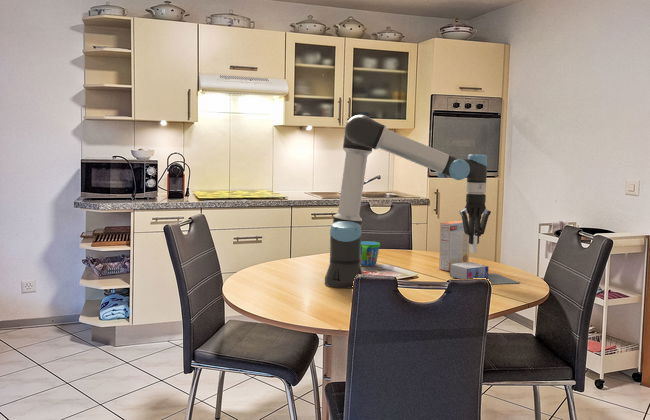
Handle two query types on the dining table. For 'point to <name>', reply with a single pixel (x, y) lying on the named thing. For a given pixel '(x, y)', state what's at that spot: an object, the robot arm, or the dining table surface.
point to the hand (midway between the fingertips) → (473, 251)
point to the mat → (500, 279)
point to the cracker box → (453, 244)
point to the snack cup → (369, 253)
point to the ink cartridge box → (468, 270)
